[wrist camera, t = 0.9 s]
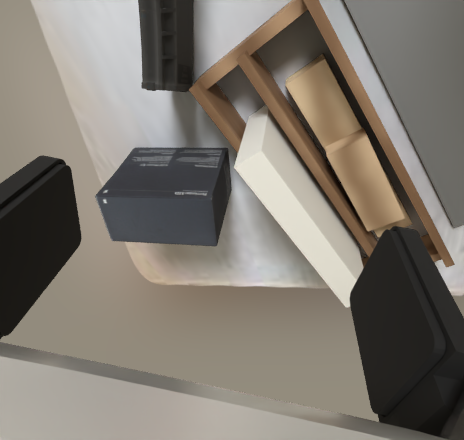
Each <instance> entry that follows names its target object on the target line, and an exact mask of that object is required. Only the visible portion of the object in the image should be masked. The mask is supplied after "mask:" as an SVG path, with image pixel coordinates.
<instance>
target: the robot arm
mask: <svg viewBox="0 0 464 440" xmlns="http://www.w3.org/2000/svg"><path fill="white" fill-rule="evenodd" d="M80 242H81V231H80V224H79V217H78V211H77V204H76V198H75V192H74V185H73V179H72V173H71V168H70V167H69V166H67V165H66V163H65V162H64V160H62V159H58V158H53V157H48V156H39V157H37V158H36V159H35V160H33V161H32V162H30V163H29V164H27V165H26V166H25V167H23V168H22V169H20V170H19V171H18V172H16V173H15V174H13V175H12V176H10V177H9V178H8V179H6V180H5V181H3V182H2V183H1V184H0V339H1V337H3V336H6V335H9V334H10V333H11V332H12V331H13V329H14V328H15V327H16V326H17V325H18V323H19V322H20V321H21V319H22V318H23V317H24V316H25V314H26V313H27V312H28V310H29V309H30V308H31V307H32V305H33V304H34V303H35V302H36V300H37V299H38V298H39V297H40V295H41V294H42V293H43V291H44V290H45V289H46V288H47V286H48V285H49V284H50V283H51V281H52V280H53V279H54V277H55V276H56V275H57V274H58V272H59V271H60V270H61V268H62V267H63V266H64V265H65V263H66V262H67V261H68V260H69V258H70V257H71V256H72V254H73V253H74V252H75V250H76V249H77V248H78V246H79V245H80ZM350 306H351V311H352V316H353V321H354V326H355V331H356V336H357V341H358V345H359V351H360V355H361V360H362V365H363V370H364V375H365V379H366V385H367V390H368V395H369V400H370V405H371V408H372V410H373V412H374V413H376V414H378V418H379V422H376V421H371V420H367V419H363V418H358V417H354V416H350V415H345V414H341V413H336V412H332V411H327V410H322V409H318V408H312V407H308V406H304V405H299V404H294V403H290V402H285V401H280V400H276V399H271V398H266V397H261V396H257V395H252V394H248V393H243V392H238V391H233V390H229V389H224V388H219V387H214V386H210V385H205V384H200V383H196V382H191V381H186V380H181V379H176V378H171V377H167V376H162V375H157V374H152V373H148V372H143V371H138V370H133V369H128V368H124V367H118V366H114V365H109V364H105V363H99V362H95V361H90V360H85V359H80V358H75V357H70V356H65V355H61V354H56V353H51V352H46V351H40V350H36V349H31V348H26V347H21V346H16V345H11V344H7V343H2V342H0V440H464V318H463V316H462V314H461V312H460V310H459V308H458V306H457V305H456V303H455V301H454V299H453V297H452V295H451V293H450V291H449V290H448V288H447V286H446V284H445V282H444V280H443V278H442V277H441V275H440V273H439V271H438V269H437V267H436V265H435V263H434V262H433V260H432V258H431V256H430V254H429V252H428V250H427V249H426V247H425V245H424V243H423V241H422V239H421V237H420V235H419V234H418V232H417V231H416V230H414V229H409V228H404V227H399V226H393V227H392V228H391V229H390V230H388V229H387V230H385V231H384V232H383V233H382V235H381V237H380V239H379V241H378V243H377V244H376V246H375V248H374V250H373V252H372V254H371V255H370V257H369V259H368V261H367V263H366V265H365V267H364V268H363V270H362V272H361V274H360V276H359V278H358V279H357V281H356V283H355V285H354V287H353V289H352V291H351V293H350Z"/></svg>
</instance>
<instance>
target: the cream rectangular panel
mask: <svg viewBox="0 0 464 440" xmlns="http://www.w3.org/2000/svg"><path fill="white" fill-rule="evenodd" d="M234 168H235V169H236V171H237V172H238V173H239V174H240V176H241V177H242V178H243V180H244V181H245V182H246V183H247V185H248V186H249V187H250V188H251V190H252V191H253V192H254V193H255V195H256V196H257V197H258V198H259V200H260V201H261V202H262V203H263V205H264V206H265V207H266V208H267V210H268V211H269V212H270V213H271V215H272V216H273V217H274V218H275V220H276V221H277V222H278V223H279V225H280V226H281V227H282V228H283V230H284V231H285V232H286V233H287V235H288V236H289V237H290V238H291V240H292V241H293V242H294V243H295V245H296V246H297V247H298V248H299V250H300V251H301V252H302V253H303V255H304V256H305V257H306V258H307V260H308V261H309V262H310V263H311V265H312V266H313V267H314V268H315V270H316V271H317V272H318V273H319V275H320V276H321V277H322V278H323V280H324V281H325V282H326V283H327V285H328V286H329V287H330V288H331V289H332V291H333V292H334V293H335V295H336V296H337V297H338V298H339V300H340V301H341V302H342V303H343V305H344V306H345V307H350V293H351V291H352V289H353V287H354V285H355V283H356V281H357V279H358V278H359V276H360V274H361V272H362V270H363V264H362V260H361V256H360V251H359V247H358V243H357V239H356V237H355V236H354V234H353V233H352V231H351V230H350V228H349V227H348V225H347V224H346V222H345V221H344V219H343V218H342V216H341V215H340V213H339V212H338V210H337V209H336V208H335V206H334V205H333V203H332V202H331V200H330V199H329V197H328V196H327V194H326V193H325V191H324V190H323V188H322V187H321V185H320V184H319V182H318V181H317V179H316V178H315V176H314V175H313V173H312V172H311V171H310V169H309V168H308V166H307V165H306V163H305V162H304V160H303V159H302V157H301V156H300V154H299V153H298V151H297V150H296V148H295V147H294V145H293V144H292V142H291V141H290V139H289V138H288V136H287V135H286V133H285V132H284V131H283V129H282V128H281V126H280V125H279V123H278V122H277V120H276V119H275V117H274V116H273V114H272V113H271V111H270V110H269V108H268V107H267V105H265V106H264V107H262V108H261V109H259V110H258V111H256V112H255V113H253V114H252V115H251V116H249V118H248V121H247V125H246V128H245V131H244V135H243V138H242V142H241V145H240V148H239V152H238V155H237V158H236V162H235V165H234Z"/></svg>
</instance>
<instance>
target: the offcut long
mask: <svg viewBox="0 0 464 440" xmlns="http://www.w3.org/2000/svg"><path fill="white" fill-rule="evenodd" d="M286 87H287V89H288V90H289V92H290V94H291V95H292V97H293V99H294V100H295V102H296V103H297V105H298V107H299V108H300V110H301V112H302V113H303V115H304V117H305V118H306V120H307V122H308V123H309V125H310V127H311V128H312V130H313V131H314V133H315V135H316V136H317V138H318V140H319V141H320V143H321V145H322V146H323V148H324V150H325V151H326V149H325V147H326V146H328V145H330V144H332V143H334V142H336V141H338V140H340V139H342V138H344V137H346V136H348V135H350V134H352V133H354V132H356V131H358V130H360V129H362V126H361V125H360V123H359V121H358V119H357V117H356V115H355V113H354V111H353V109H352V108H351V106H350V104H349V102H348V100H347V98H346V96H345V94H344V92H343V90H342V89H341V87H340V85H339V83H338V81H337V79H336V77H335V75H334V73H333V72H332V70H331V68H330V66H329V64H328V62H327V60H326V58H325V56H324V55H323V54H322V55H321V56H319V57H318V58H316V59H315V60H313V61H312V62H310V63H309V64H308V65H306V66H305V67H303V68H302V69H300V70H299V71H297V72H296V73H294V74H293V75H292V76H290V77H289V78H287V79H286ZM376 156H377V155H376ZM377 158H378V157H377ZM378 160H379V159H378ZM379 162H380V160H379ZM380 164H381V162H380ZM381 166H382V164H381ZM382 169H383V171H384V173H385V175H386V177H387V179H388V182H389V184H390V186H391V188H392V190H393V192H394V194H395V197H396V199H397V201H398V203H399V205H400V208H401V210H402V212H403V214H404V217H405V218H404V219H402V220H399V221H396V222H393V223H390V224H388V225H385V226H382V227H379V228H377V229H374V232H375V234H376V235H377V237H381V235H382V233H383V232H384V231H385V230H387V229H388V230H390V229H391V228H392V227H393V226H399V227H407V226H410V225H412V222H411V220H410V218H409V216H408V214H407V212H406V210H405V208H404V206H403V204H402V202H401V200H400V198H399V196H398V195H397V193H396V191H395V189H394V187H393V185H392V183H391V181H390V179H389V178H388V176H387V174H386V172H385V170H384V168H383V166H382Z"/></svg>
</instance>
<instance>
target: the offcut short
mask: <svg viewBox="0 0 464 440" xmlns="http://www.w3.org/2000/svg"><path fill="white" fill-rule="evenodd" d="M325 149H326V155H327V158H328V159H329V161H330V163H331V165H332V167H333V169H334V170H335V172H336V174H337V176H338V178H339V180H340V181H341V183H342V185H343V187H344V189H345V191H346V192H347V194H348V196H349V198H350V200H351V202H352V203H353V205H354V207H355V209H356V211H357V213H358V215H359V216H360V218H361V220H362V222H363V224H364V226H365V227H366V229H367V231H371V230H374V229H377V228H379V227H382V226H385V225H388V224H390V223H393V222H396V221H399V220H402V219H404V218H405V217H404V214H403V212H402V210H401V208H400V205H399V203H398V201H397V199H396V197H395V194H394V192H393V190H392V188H391V186H390V184H389V182H388V179H387V177H386V175H385V173H384V171H383V169H382V166H381V164H380V162H379V160H378V158H377V156H376V153H375V151H374V149H373V147H372V145H371V143H370V140H369V138H368V136H367V134H366V132H365V130H364V128H362V129H360V130H358V131H356V132H354V133H352V134H350V135H348V136H346V137H344V138H342V139H340V140H338V141H336V142H334V143H332V144H330V145H328V146H326V147H325Z"/></svg>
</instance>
